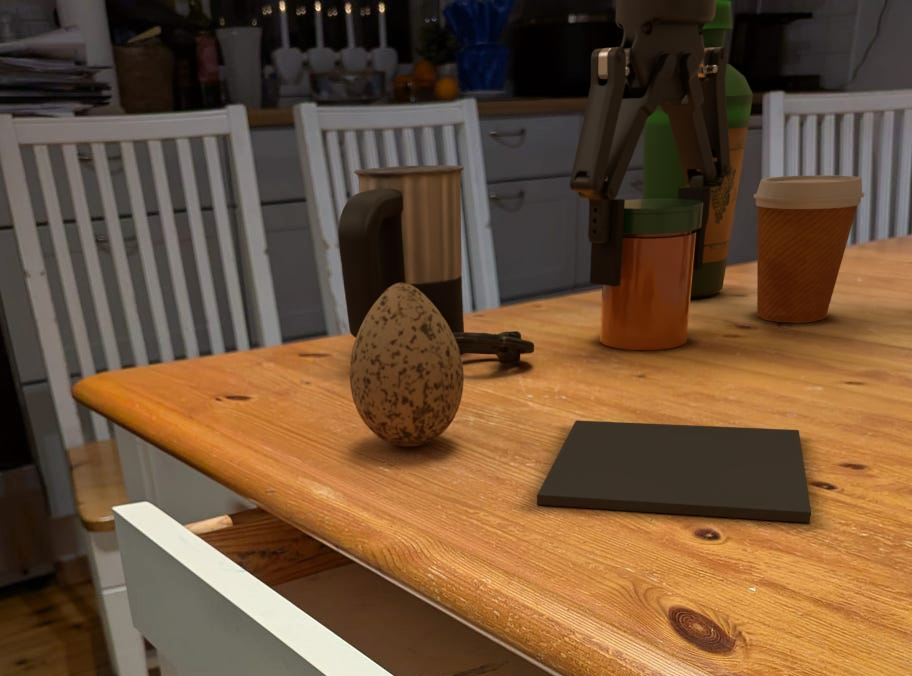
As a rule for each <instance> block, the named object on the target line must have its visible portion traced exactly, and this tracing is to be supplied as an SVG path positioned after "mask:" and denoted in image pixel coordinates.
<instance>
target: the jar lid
mask: <svg viewBox="0 0 912 676" xmlns="http://www.w3.org/2000/svg"><path fill="white" fill-rule="evenodd" d="M702 210H703V202H702V201H698V200H690V199H643V198H637V199H625V206H624V224H623V233H626V234H662V233H677V232H686V231H692V230H696V229H699V228H700V227H701V221H702Z"/></svg>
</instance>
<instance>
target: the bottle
mask: <svg viewBox="0 0 912 676" xmlns="http://www.w3.org/2000/svg"><path fill="white" fill-rule="evenodd" d="M733 26H734V25H733V15H732V2H731V0H716V11H715V16H714V18H713V20H712V21H711V22H709V23H707V24H705V25H704V26H703V29H702V38H703V44H704V48H712V47H724V46H725V43H726V42H725V41H726V37H727V31H728V30H732V29H733V28H734V27H733ZM725 85H726V101H727V116H728V132H729V148H730V164H731V170H730V173H729V175H728V176H726V177H725V178H724V182H723V184H722V186H721V187H712V188H711V197H710V207H709V218H708V222H707V226H706V231H705V241H704V252H703V263H702V269H698V270H694V269H693V274H692V285H691V297H690V300H691V299H692V300H693V299H695V300H696V299H701V298H703V299H704V298H709V297H711V296H713V295H715V294H716V293H718V292H720V291H722V290H723V287H724V281H725V275H726V269H727V263H728V256H729V249H730V243H731V237H732V232H733V224H734V219H735V213H736V206H737V199H738V194H739V186H740V181H741V174H742V167H743V162H744V155H745V150H746V149H745V148H746V143H747V136H748V131H749V130H748V129H749V125H750V124H749V123H750V118H751V117H750V116H751V112H752V105H753V99H754V94H753V92H752V89H751V87H750V85H749V82H748V80H747V78H746V77H745V75H743V73H741V72H740V71H739V70H738V69H736V68H735V67H734V66H732V65H731V64H730V63H727V69H726V76H725ZM686 96H687V95H686ZM642 145H643V146H642V147H643V148H642V149H643V151H642V152H643V153H642V154H643V155H642V156H643V158H642V161H643V162H642V199H678V189H679V188H682V187H690V186H688V185H687V184H686V181H685V177H684V173H683V169H682V166H681V162H680V158H679V154H678V151H677V147H676V143H675V139H674V136H673V132H672V128H671V124H670V121H669V117H668V115H667V114H666V113H664V112H663V111H662V109H661V105H657V108H656V110H655V112H654V113H653V114H652V115H650V116H649V117H648V118H647V120H646V123H645V125H644V128H643V144H642ZM713 160H714V161H717V158H713Z"/></svg>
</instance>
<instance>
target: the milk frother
mask: <svg viewBox="0 0 912 676" xmlns="http://www.w3.org/2000/svg"><path fill="white" fill-rule="evenodd" d="M464 167H465V166H463V165H450V164H449V165H447V164H443V165H441V164H440V165H439V164H437V165H398V166H388V167H386V166H385V167H372V168H363V169H354V171H353V173H354V174H355V175H356V176H357V179H358V193H355V194H353V195H352V196H351V197H350V198H349V199H347V201H346V203H345V204H344V206H343V208H342V210H341V214H340V216H339V223H338V233H337V234H338V235H337V236H338V247H339V256H340V263H341V272H342V273H341V275H342V280H343V289H344V296H345V297H344V298H345V304H346V312H347V320H348V321H347V322H348V328H349V332H350V334H351V336H352V337H353V338H355V339H356V336H357V334H358V332H359V329H360V327H361V325H362V323H363V321H364V319H365V317H366V316H367V314H368V312H369V311H370V309H371V308H372V306H373V305H374V303H375V302H376V301H377V300H378V298H379V297H380V296H381V295H382V294H383V293H384V292H385V291H386V290H387V289H388V288H389V287H391V286H392V285H394V284H396V283H401V282H402V283H407V284H410V285H412V286H414V287H416V288H417V289H418V290H419V291H421V292H422V293H423V294H424V295H425V296H426V297H427V298H428V299H429V300H430V301H431V302H432V303H433V305H434V306H435V307H436V308H437V309H438V311H439V312H440V313H441V315H442V316H443V317H444V319H445V321H446V322H447V324H448V325H449V327H450V329H451V331H452V333H453V335H454V337H455V340H456V342H457V345H458V348H459V352H460V354H471V355H472V354H474V355H495V356H496V357H497V358H498V361H499V363H500V364H502V365H510V364H511V365H512V364H518V363H519V362H520V360H521V355H525V354H533V353H534V352H535V343H534V342H532V341H531V340H526V339H523V338H522V334H521V332H520V331H518V330H514V331H512V330H511V331H502V332H499V333H489V332H471V331H469V332H468V331H467V332H466V331H465V323H464V305H463V304H464V303H463V275H462V273H463V266H462V264H463V263H462V262H463V261H462V260H463V259H462V258H463V257H462V256H463V255H462V203H461V199H462V198H461V173H462V171H464Z"/></svg>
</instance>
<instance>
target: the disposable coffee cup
mask: <svg viewBox="0 0 912 676" xmlns="http://www.w3.org/2000/svg"><path fill="white" fill-rule="evenodd" d="M865 195H866V194H865V192H863V180H862V177H860V176H851V175H830V174H829V175H827V174H826V175H825V174H824V175H822V174H821V175H819V174H818V175H816V174H815V175H813V174H811V175H810V174H809V175H787V176H786V175H785V176H784V175H783V176H774V177H773V176H772V177H767V178H761V179H760V182H759V184H758V188H757V191H756V193H754V194H753V199H755V206H757V207H756V210H757V217H756V218H757V222H756V223H757V230H756V231H757V232H756V233H757V234H756V235H757V252H756V253H757V254H756V255H757V262H756V263H757V265H756V267H757V269H756V271H757V273H756V275H757V278H756V279H757V281H756V283H757V285H756V286H757V287H756V288H757V289H756V291H757V292H756V294H757V295H756V296H757V297H756V300H757V302H756V303H757V307H756V309H757V310H756V316H757V317H758V318H760V319H762V320H766V321H772V322H778V323H797V324H798V323H810V322H811V323H812V322H817V321H821V320H825V318H827V314H828V311H829V307H830V304H831V300H832V296H833V294H834V289H835V287H836V283H837V279H838V275H839V273H840V269H841V265H842V263H843V262H842V261H843V259H844V255H845V251H846V248H847V244H848V240H849V238H850V233H851V230H852V226H853V223H854V219H855V216H856V212H857V209H858V206H859V205H861V202H862V198H864V197H865Z"/></svg>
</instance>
